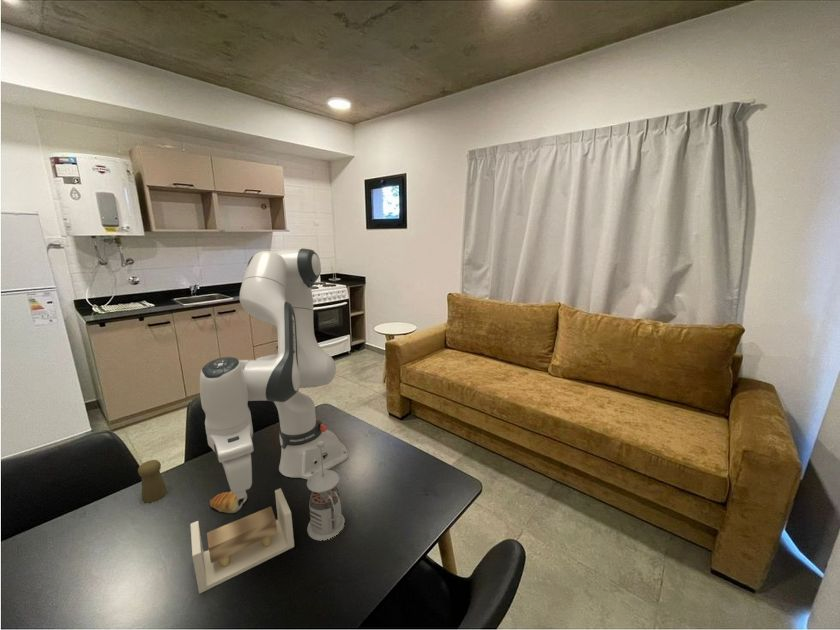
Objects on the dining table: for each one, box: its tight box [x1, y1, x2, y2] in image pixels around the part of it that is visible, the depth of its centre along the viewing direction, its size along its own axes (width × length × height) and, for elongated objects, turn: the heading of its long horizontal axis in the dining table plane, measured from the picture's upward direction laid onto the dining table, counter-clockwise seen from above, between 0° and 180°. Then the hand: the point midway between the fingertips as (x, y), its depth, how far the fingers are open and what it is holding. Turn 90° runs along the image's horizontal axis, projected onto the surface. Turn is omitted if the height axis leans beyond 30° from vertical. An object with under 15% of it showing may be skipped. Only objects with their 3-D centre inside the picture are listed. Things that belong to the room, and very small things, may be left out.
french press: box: [306, 441, 346, 542], centre depth 87 cm, size 10×12×25 cm
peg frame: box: [190, 487, 295, 595], centre depth 82 cm, size 20×10×10 cm, turn 125°
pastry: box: [209, 490, 248, 514], centre depth 97 cm, size 9×7×4 cm
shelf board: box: [206, 505, 277, 563], centre depth 81 cm, size 14×5×4 cm, turn 125°
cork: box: [137, 459, 168, 504], centre depth 99 cm, size 6×6×11 cm
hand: (238, 483), depth 79 cm, fingers open, 8 cm apart
